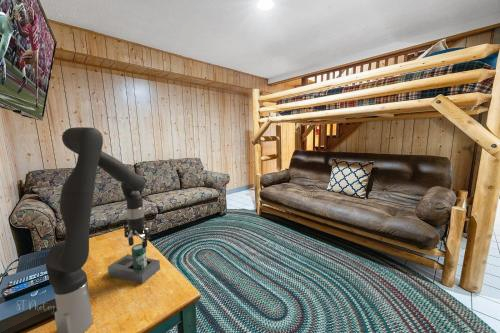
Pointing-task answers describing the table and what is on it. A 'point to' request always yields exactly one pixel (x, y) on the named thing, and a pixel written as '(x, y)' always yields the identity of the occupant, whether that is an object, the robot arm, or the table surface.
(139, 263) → the can
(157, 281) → the table surface
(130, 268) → the block with square hole
